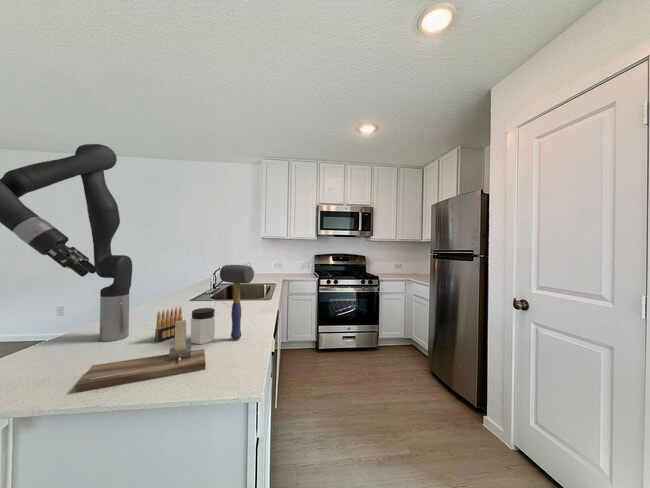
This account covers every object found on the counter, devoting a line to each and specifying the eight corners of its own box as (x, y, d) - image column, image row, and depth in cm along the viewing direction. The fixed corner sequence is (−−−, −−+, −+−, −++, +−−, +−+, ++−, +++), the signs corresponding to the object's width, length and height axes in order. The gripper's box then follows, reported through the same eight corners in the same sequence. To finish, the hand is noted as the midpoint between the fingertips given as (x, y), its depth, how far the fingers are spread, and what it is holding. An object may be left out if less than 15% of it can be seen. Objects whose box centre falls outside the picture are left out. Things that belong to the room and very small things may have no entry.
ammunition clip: (157, 343, 101) (158, 311, 101) (154, 342, 102) (155, 311, 102) (183, 334, 111) (183, 306, 111) (180, 334, 112) (181, 305, 112)
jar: (185, 342, 102) (186, 311, 102) (201, 335, 110) (201, 307, 110) (204, 345, 99) (205, 313, 99) (219, 338, 107) (219, 308, 107)
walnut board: (92, 372, 78) (92, 365, 78) (204, 354, 91) (204, 348, 91) (76, 392, 67) (76, 384, 67) (205, 369, 80) (205, 362, 80)
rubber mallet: (254, 338, 108) (255, 264, 108) (243, 344, 101) (244, 265, 101) (229, 334, 112) (230, 263, 112) (216, 340, 105) (218, 264, 105)
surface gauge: (170, 353, 87) (170, 320, 87) (190, 350, 89) (191, 318, 89) (167, 365, 78) (168, 328, 78) (190, 362, 81) (190, 326, 81)
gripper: (41, 225, 73) (94, 266, 78) (64, 228, 86) (108, 263, 91) (14, 244, 71) (70, 285, 76) (41, 244, 83) (88, 279, 88)
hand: (91, 273), depth 83 cm, fingers open, 8 cm apart
